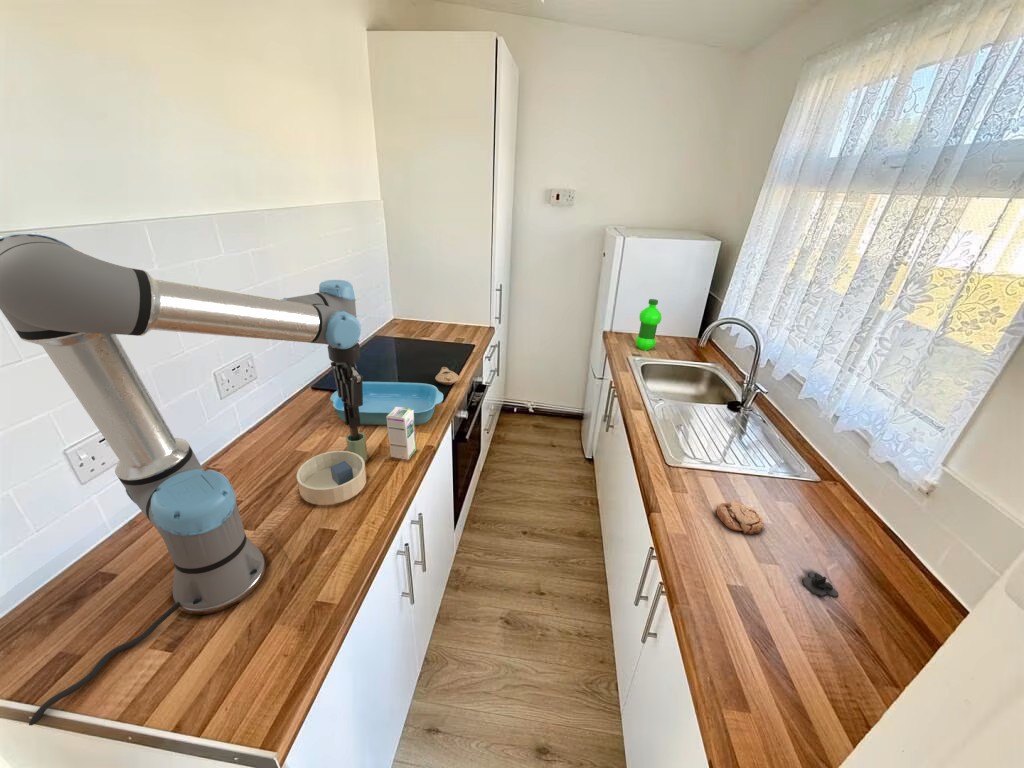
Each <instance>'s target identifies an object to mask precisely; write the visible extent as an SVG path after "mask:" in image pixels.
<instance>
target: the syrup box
mask: <svg viewBox="0 0 1024 768" xmlns="http://www.w3.org/2000/svg"><path fill="white" fill-rule="evenodd" d="M386 419H387V425H386V428H387V436H388V445H389V453H390V454H389V455H390V458H396V459H400V460H401V459H403V460H407V461H408V460H410V459H411V458H412V456H413V455H414V454H415V452H416V451H417V437H416V425H415V424H414V411H413V409H410V408H404V407H395V408H394V409H393V410H392V411H391V412H390V413H389V414H388V415H387V416H386Z"/></svg>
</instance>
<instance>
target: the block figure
mask: <svg viewBox="0 0 1024 768" xmlns="http://www.w3.org/2000/svg"><path fill="white" fill-rule="evenodd" d="M807 575H808V576H806V577H803V578H802V585H803V586H804V587H805V588H806V589H807V590H808V591H809V592H810V593H811V594H812V595H815V596H819V597H820V598H821V597H824V596H827V595H828V596H829V597H832V598H836V597H837V598H838V597H839V591H837V590H836V589H835V588H834V586H833V585H832V584H831V583H830V581H826V580H827V577H826V576H822V575H821V574H819V573H818V572H814V571H810V572H808V573H807Z"/></svg>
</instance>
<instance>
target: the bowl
mask: <svg viewBox="0 0 1024 768" xmlns="http://www.w3.org/2000/svg"><path fill="white" fill-rule="evenodd" d="M343 461H346V462H347V463H348V464H349V465H350V466H351V467H352V471H353V479H352V480H350V481H349V482H346V483H344V484H342V485H338V484H337V483H336V482H335V481H334V480H333V479H332V474H331V468H330V467H331V466H333V465H336V464H338V463H341V462H343ZM366 470H367V469H366V461H364V460H363V458H362V457H361V456H359V455H358V454H356V453H354V452H349V451H348V450H332V451H327V452H322V453H320V454H316V455H314V456H313V457H311V458H309V459H307V460H306V461H305V462H304V463H302V464H301V465H300V467H299V468H298V469H297V472H296V480H297V481H296V482H297V485H298V491H299V495H300V497H301V499H303V500H304V501H305V502H307V503H310V504H312V505H317V506H318V505H319V506H328V505H329V506H331V505H336V504H340V503H343V502H345V501H347V500H350V499H352V498H353V497H355V496H357V495H358V494H359V493H360V492H362V490H363V489H364V487H365V486H366V483H367V471H366Z"/></svg>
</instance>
